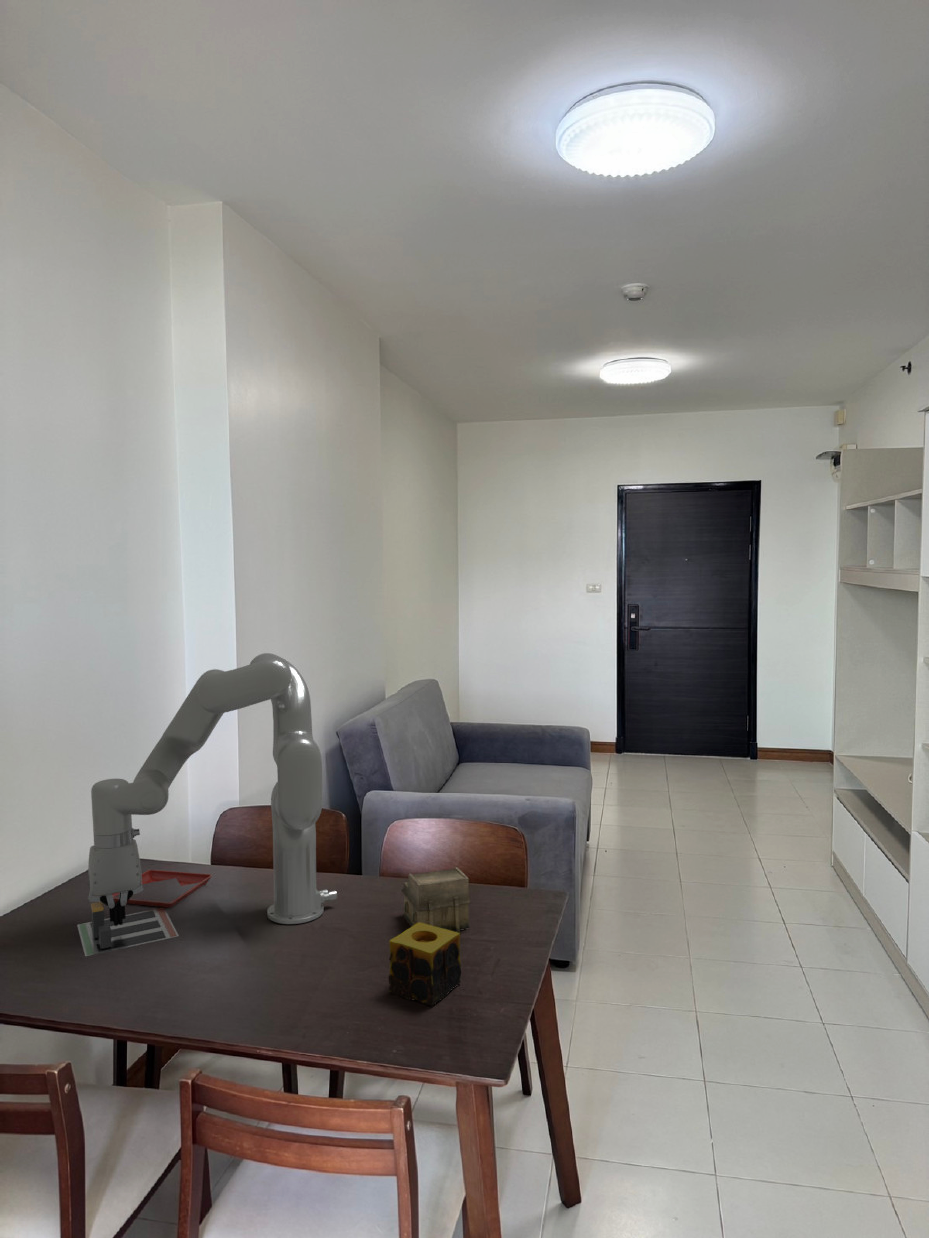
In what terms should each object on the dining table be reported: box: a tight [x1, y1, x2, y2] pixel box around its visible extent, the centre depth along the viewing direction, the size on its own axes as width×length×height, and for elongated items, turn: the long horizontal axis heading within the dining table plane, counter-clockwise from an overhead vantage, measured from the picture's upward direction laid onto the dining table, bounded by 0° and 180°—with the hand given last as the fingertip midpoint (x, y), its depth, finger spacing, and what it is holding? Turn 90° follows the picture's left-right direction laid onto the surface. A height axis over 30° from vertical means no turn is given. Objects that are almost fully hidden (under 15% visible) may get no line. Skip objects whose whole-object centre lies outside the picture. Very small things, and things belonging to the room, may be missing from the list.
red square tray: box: [112, 869, 213, 908], centre depth 198 cm, size 18×18×3 cm
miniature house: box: [400, 866, 472, 933], centre depth 183 cm, size 15×14×11 cm
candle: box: [388, 922, 462, 1007], centre depth 154 cm, size 10×10×10 cm
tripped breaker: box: [90, 902, 105, 938], centre depth 173 cm, size 2×3×6 cm
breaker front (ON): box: [99, 924, 112, 949], centre depth 168 cm, size 2×3×4 cm, turn 30°
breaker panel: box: [76, 907, 180, 957], centre depth 176 cm, size 18×17×2 cm
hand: (117, 922), depth 175 cm, fingers closed
